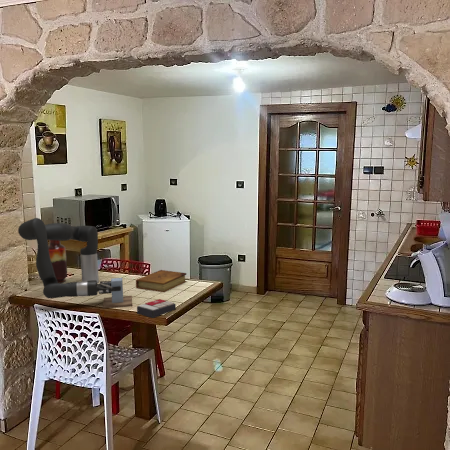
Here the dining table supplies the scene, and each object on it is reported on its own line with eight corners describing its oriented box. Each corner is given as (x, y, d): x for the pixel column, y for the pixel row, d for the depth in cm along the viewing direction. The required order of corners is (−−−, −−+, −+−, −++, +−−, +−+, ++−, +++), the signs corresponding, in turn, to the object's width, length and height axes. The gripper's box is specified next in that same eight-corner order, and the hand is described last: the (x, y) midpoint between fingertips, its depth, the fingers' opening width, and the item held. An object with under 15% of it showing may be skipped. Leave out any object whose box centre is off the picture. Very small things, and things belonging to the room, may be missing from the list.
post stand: (103, 299, 236) (103, 284, 235) (131, 297, 239) (131, 282, 238) (102, 308, 223) (101, 292, 222) (132, 306, 226) (131, 290, 225)
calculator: (176, 302, 220) (153, 309, 209) (176, 311, 221) (153, 318, 209) (159, 298, 227) (136, 304, 215) (159, 306, 228) (136, 313, 216)
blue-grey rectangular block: (112, 299, 233) (111, 278, 231) (123, 298, 234) (122, 277, 232) (112, 303, 228) (110, 281, 226) (123, 302, 229) (122, 280, 227)
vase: (71, 279, 275) (68, 236, 271) (60, 284, 265) (57, 240, 261) (55, 278, 278) (52, 235, 274) (43, 283, 267) (40, 239, 263)
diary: (160, 279, 277) (159, 269, 276) (186, 282, 268) (186, 273, 267) (136, 288, 256) (135, 278, 255) (164, 293, 248) (163, 282, 247)
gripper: (85, 284, 219) (120, 282, 223) (87, 277, 233) (120, 275, 237) (86, 300, 221) (121, 297, 224) (88, 291, 234) (121, 289, 238)
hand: (120, 286), depth 230 cm, fingers open, 8 cm apart
